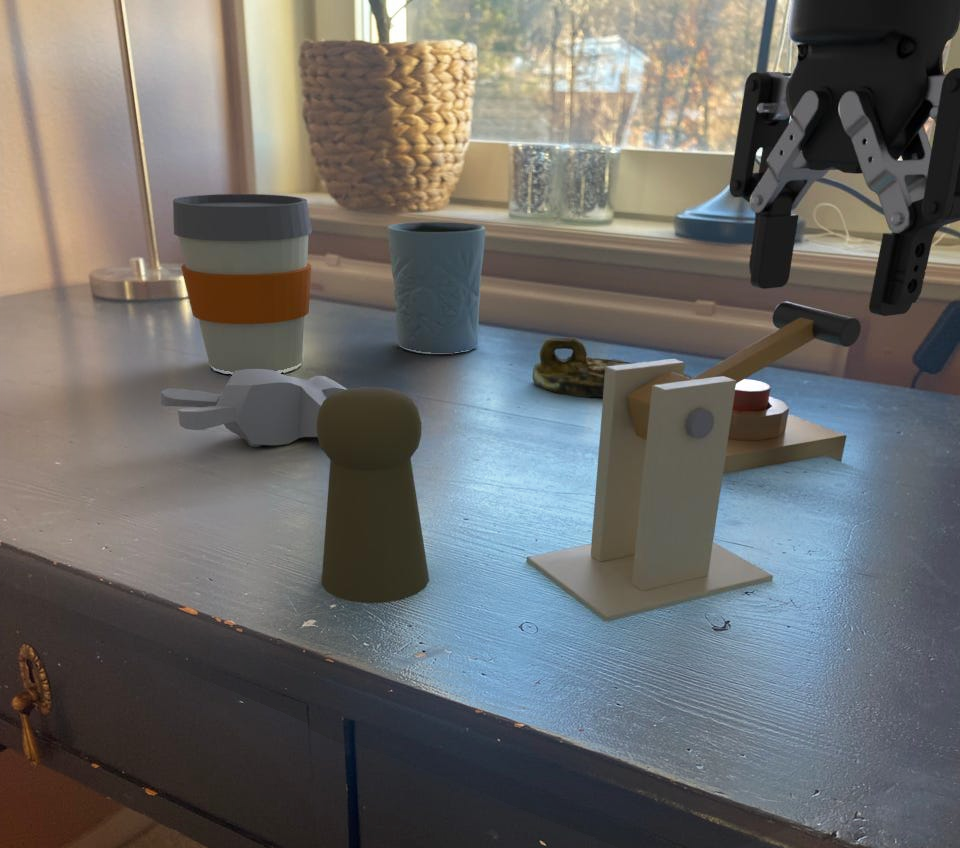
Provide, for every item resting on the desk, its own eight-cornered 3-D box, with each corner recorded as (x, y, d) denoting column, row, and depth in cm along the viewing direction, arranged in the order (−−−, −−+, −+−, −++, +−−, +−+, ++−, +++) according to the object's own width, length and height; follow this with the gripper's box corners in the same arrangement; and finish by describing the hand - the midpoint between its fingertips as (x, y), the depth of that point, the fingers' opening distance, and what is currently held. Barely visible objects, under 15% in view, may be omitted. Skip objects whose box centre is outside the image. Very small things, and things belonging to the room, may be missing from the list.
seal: (688, 390, 95) (536, 380, 96) (695, 340, 93) (539, 330, 94) (694, 406, 86) (526, 394, 88) (701, 350, 84) (529, 340, 86)
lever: (794, 329, 54) (790, 288, 53) (862, 348, 51) (860, 304, 49) (620, 428, 52) (610, 388, 50) (678, 456, 48) (669, 413, 46)
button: (744, 399, 75) (748, 376, 74) (777, 411, 72) (781, 388, 71) (707, 404, 73) (710, 381, 72) (739, 417, 71) (743, 393, 70)
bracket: (680, 542, 60) (705, 346, 54) (770, 595, 53) (809, 380, 48) (525, 575, 55) (534, 366, 49) (604, 637, 49) (625, 406, 43)
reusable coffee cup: (342, 370, 95) (333, 203, 88) (219, 388, 89) (198, 209, 81) (288, 345, 104) (276, 192, 97) (172, 359, 98) (150, 196, 90)
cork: (330, 568, 56) (317, 375, 50) (435, 570, 55) (434, 377, 50) (310, 617, 50) (294, 408, 45) (427, 621, 50) (424, 411, 45)
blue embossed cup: (415, 360, 99) (413, 233, 93) (375, 340, 107) (370, 222, 101) (501, 350, 104) (504, 229, 98) (456, 332, 111) (456, 218, 105)
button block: (751, 427, 81) (758, 379, 79) (841, 463, 73) (852, 411, 71) (632, 446, 76) (637, 395, 74) (716, 487, 68) (723, 431, 66)
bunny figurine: (386, 391, 74) (185, 389, 66) (380, 456, 76) (186, 462, 69) (340, 363, 81) (154, 359, 74) (336, 424, 83) (156, 426, 76)
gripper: (1095, -97, 39) (989, 318, 47) (832, -57, 50) (782, 274, 58) (969, -114, 36) (878, 333, 44) (718, -68, 47) (682, 284, 55)
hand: (824, 299), depth 51 cm, fingers open, 8 cm apart
